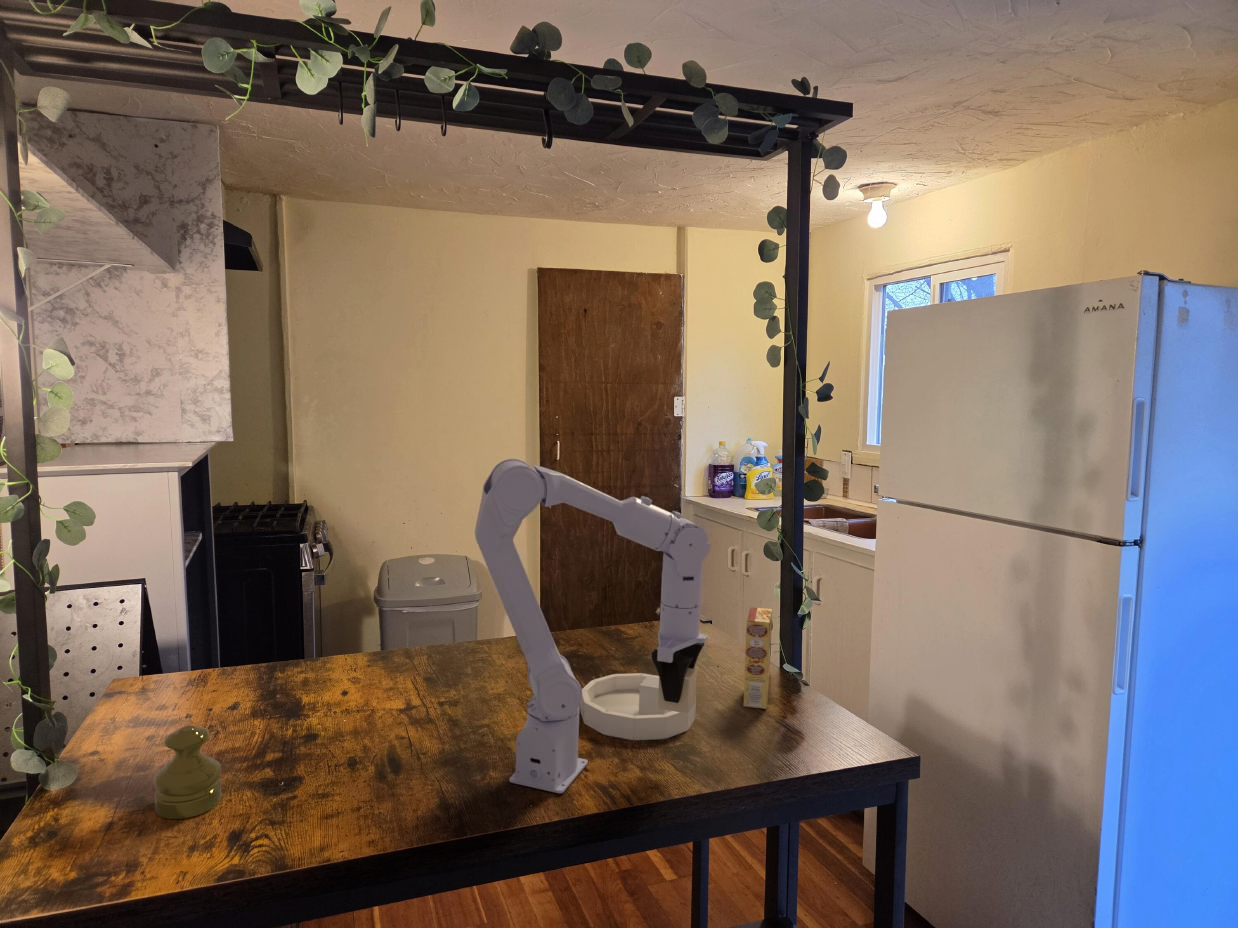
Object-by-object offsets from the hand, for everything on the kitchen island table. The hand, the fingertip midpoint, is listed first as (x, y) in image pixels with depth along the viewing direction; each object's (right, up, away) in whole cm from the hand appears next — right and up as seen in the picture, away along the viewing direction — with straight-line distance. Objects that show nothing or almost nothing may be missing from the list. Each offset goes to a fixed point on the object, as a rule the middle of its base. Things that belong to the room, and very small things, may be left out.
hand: (676, 694), depth 113 cm
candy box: (+16, -8, +25) cm, 31 cm away
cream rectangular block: (0, -2, 0) cm, 2 cm away
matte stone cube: (-2, -7, +15) cm, 17 cm away
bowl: (-5, -8, +16) cm, 19 cm away
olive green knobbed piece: (-62, -10, -15) cm, 65 cm away
